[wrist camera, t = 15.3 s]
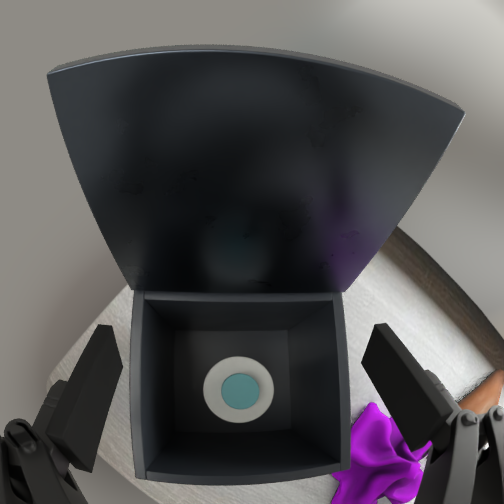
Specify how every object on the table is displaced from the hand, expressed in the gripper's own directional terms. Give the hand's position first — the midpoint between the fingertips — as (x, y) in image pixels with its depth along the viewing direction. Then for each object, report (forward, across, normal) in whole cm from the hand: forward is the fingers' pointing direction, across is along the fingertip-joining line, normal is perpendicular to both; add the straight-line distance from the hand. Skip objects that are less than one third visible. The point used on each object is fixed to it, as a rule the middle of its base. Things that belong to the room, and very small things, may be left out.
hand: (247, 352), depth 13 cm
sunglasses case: (+4, +38, -24) cm, 45 cm away
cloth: (+1, +20, -27) cm, 33 cm away
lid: (+2, 0, +6) cm, 6 cm away
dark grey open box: (+12, 0, -15) cm, 19 cm away
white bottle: (+11, 0, -15) cm, 19 cm away
